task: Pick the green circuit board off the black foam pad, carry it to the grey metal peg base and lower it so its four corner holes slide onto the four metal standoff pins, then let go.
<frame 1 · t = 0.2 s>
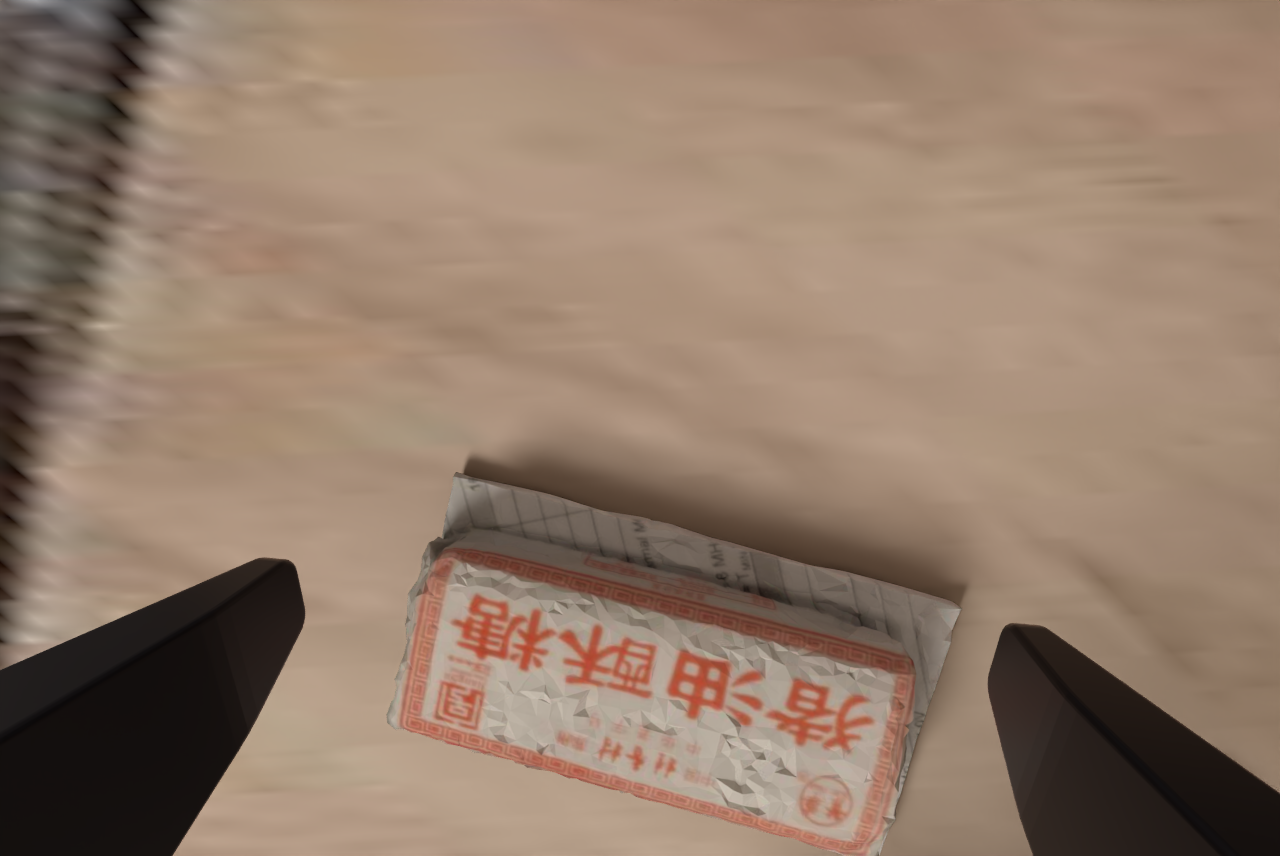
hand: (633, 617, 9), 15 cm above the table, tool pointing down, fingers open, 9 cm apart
packaged product: (671, 649, 26), on the table
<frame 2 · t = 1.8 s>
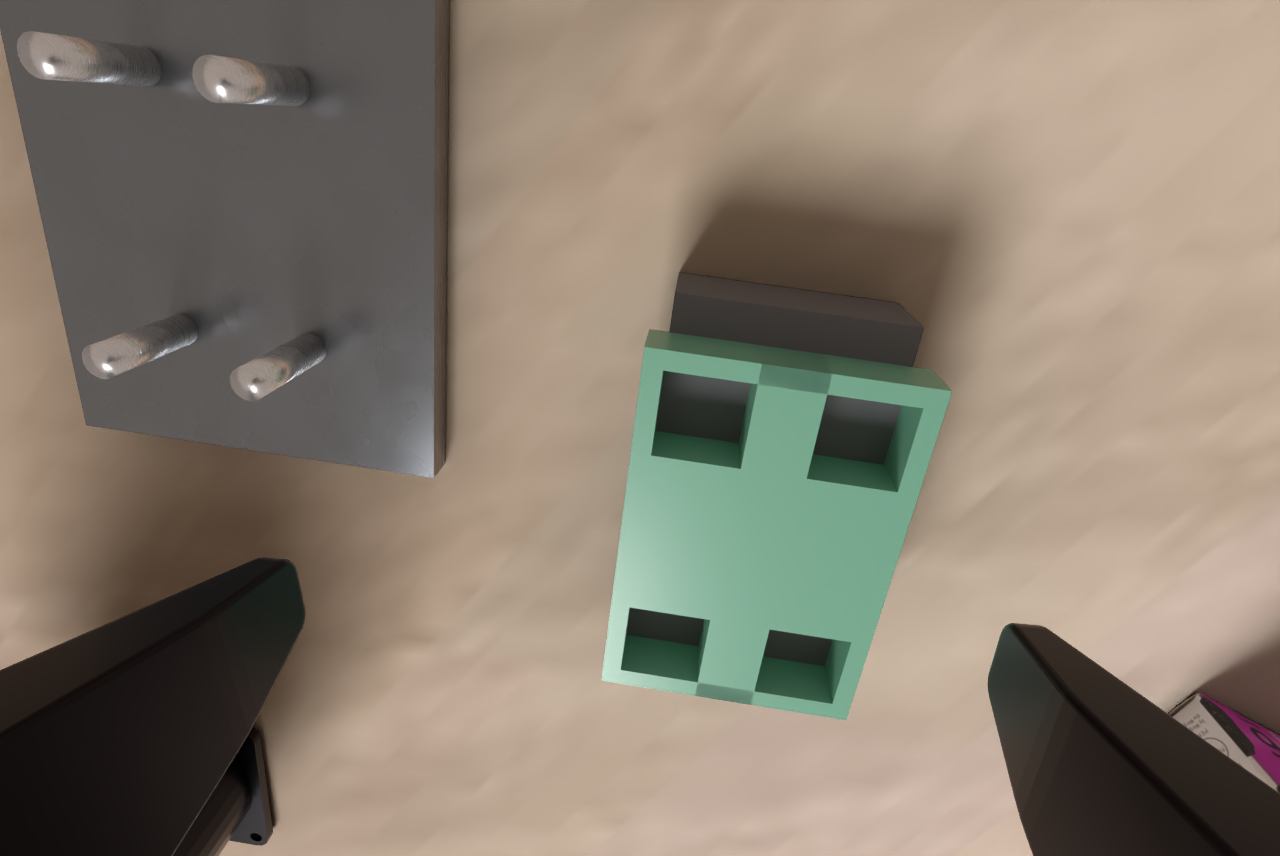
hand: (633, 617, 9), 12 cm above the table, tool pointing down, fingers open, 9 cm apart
grey metal peg base: (254, 212, 20), on the table
candy bar box: (1265, 786, 25), on the table
foam pad: (748, 480, 22), on the table
board: (752, 522, 19), point 2 cm above the table, touching foam pad
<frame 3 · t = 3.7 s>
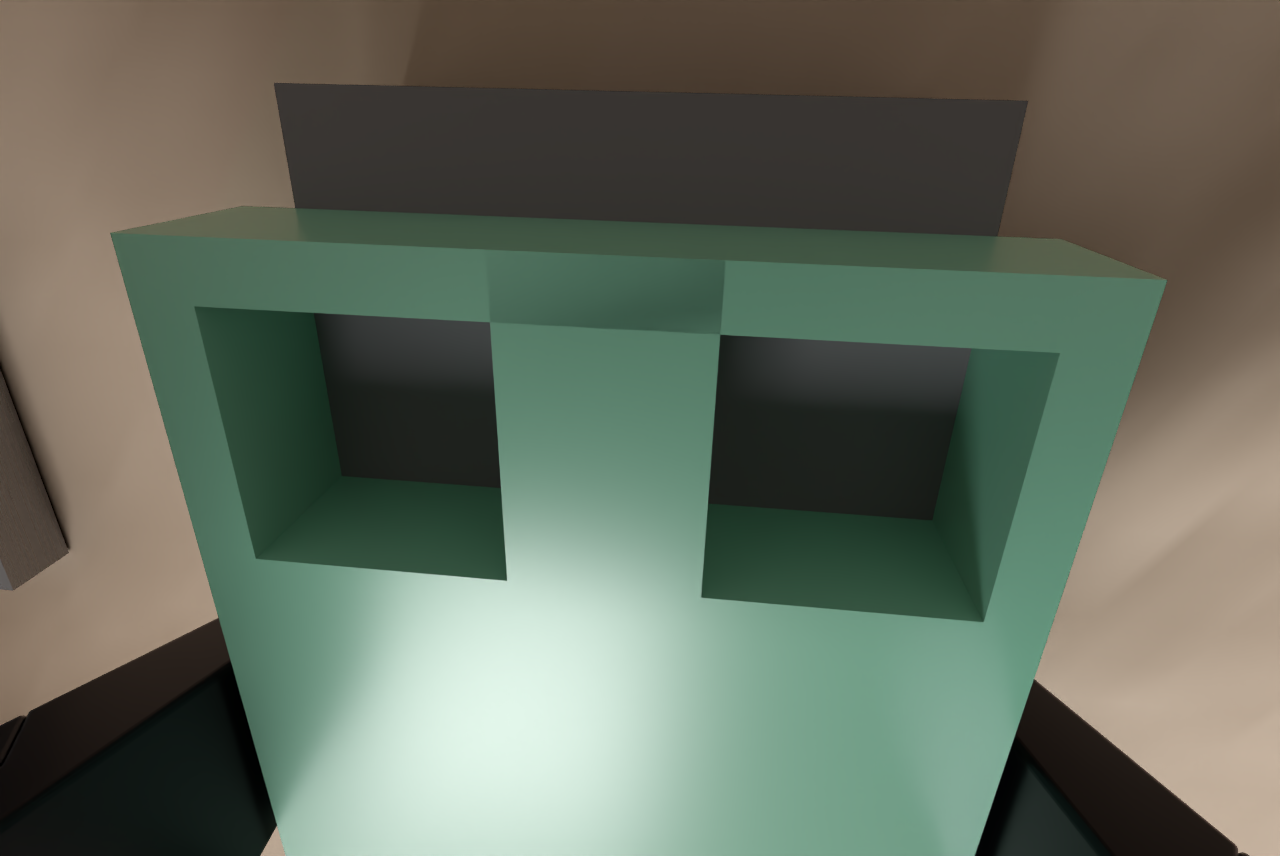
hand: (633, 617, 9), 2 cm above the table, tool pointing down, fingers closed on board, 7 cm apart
foam pad: (645, 548, 10), on the table
board: (623, 671, 8), point 2 cm above the table, touching foam pad, gripper
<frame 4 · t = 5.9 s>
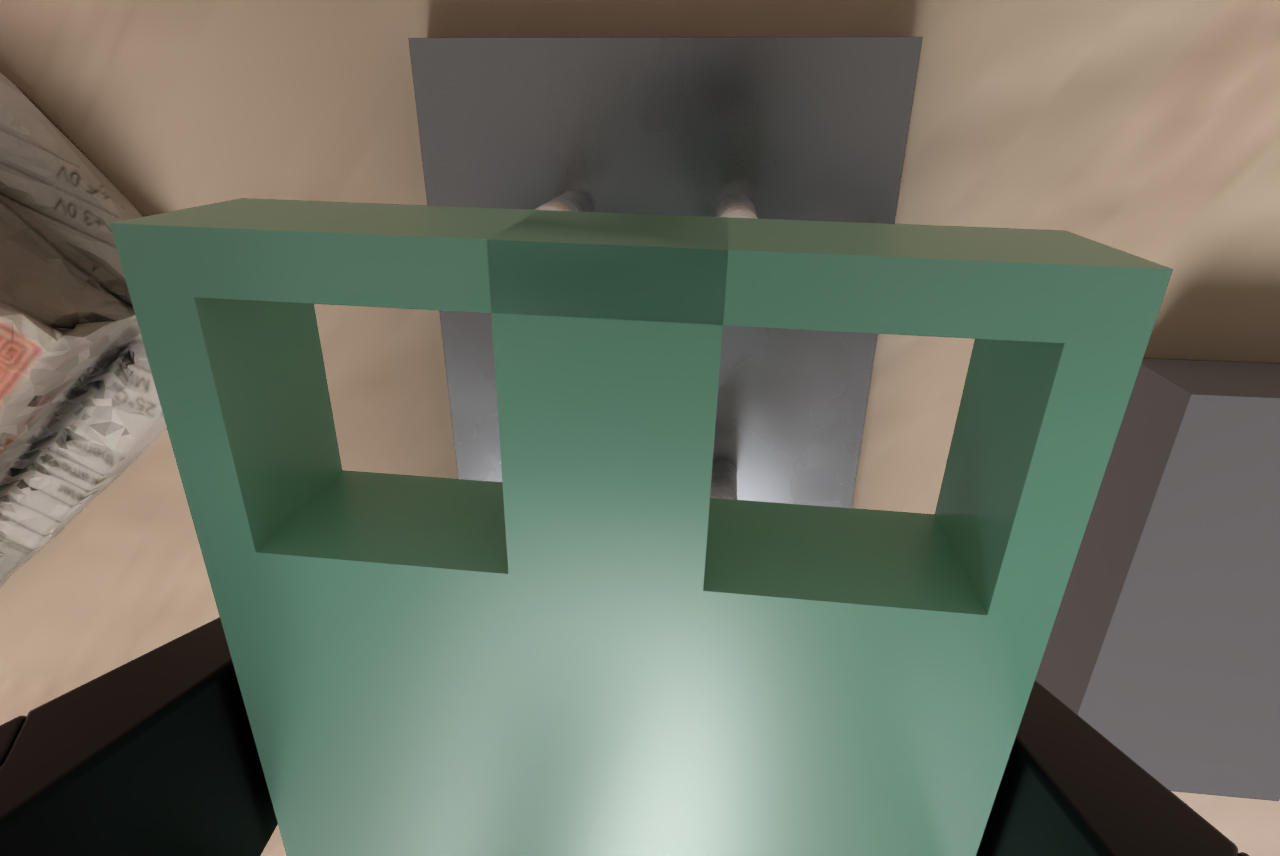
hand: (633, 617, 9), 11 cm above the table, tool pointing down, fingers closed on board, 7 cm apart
grey metal peg base: (655, 339, 19), on the table
foam pad: (1181, 564, 20), on the table
board: (624, 667, 8), point 12 cm above the table, touching gripper
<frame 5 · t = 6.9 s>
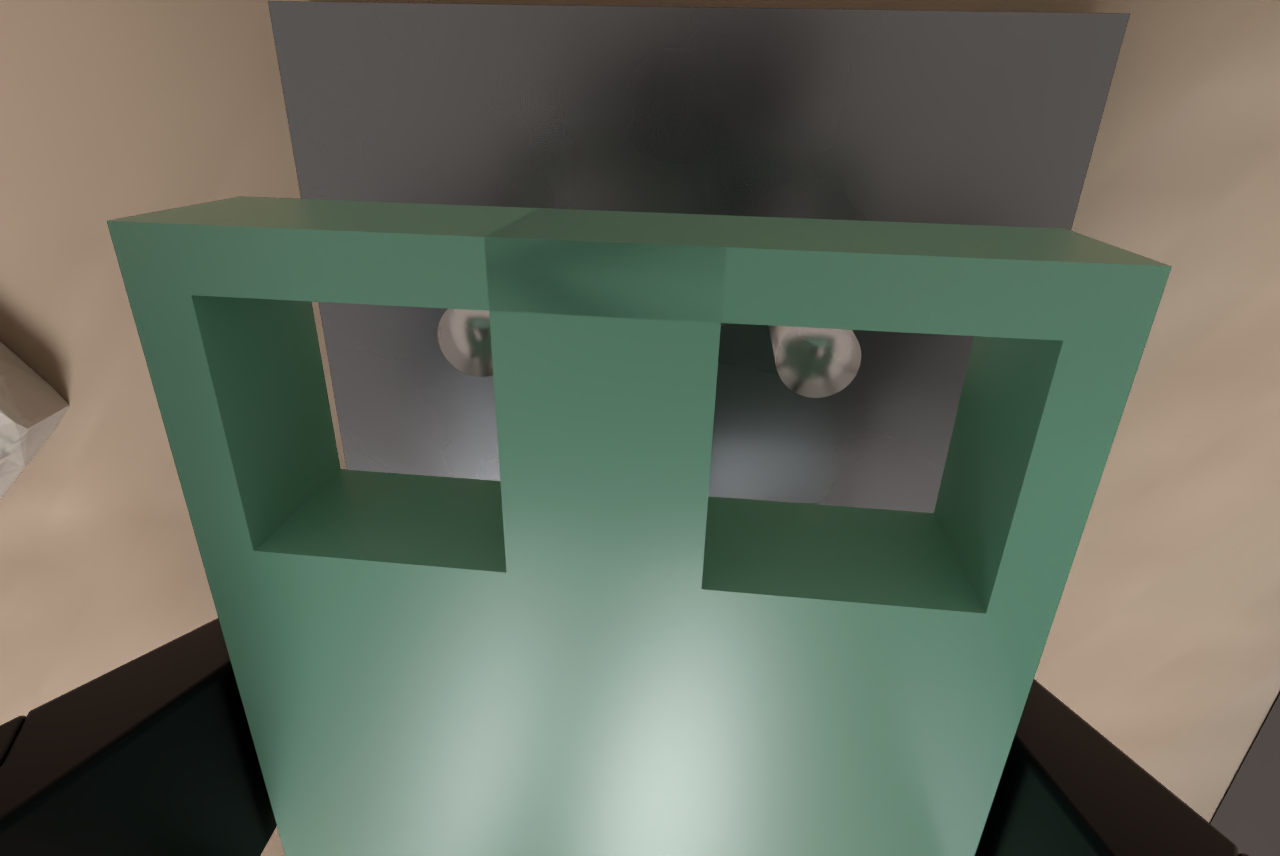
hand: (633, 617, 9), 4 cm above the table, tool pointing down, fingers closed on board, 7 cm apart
grey metal peg base: (661, 459, 13), on the table
board: (622, 666, 8), point 5 cm above the table, touching gripper
when the fingers open (1 cm above the table, at t = 8.0 s): board drops 1 cm, resting on grey metal peg base.
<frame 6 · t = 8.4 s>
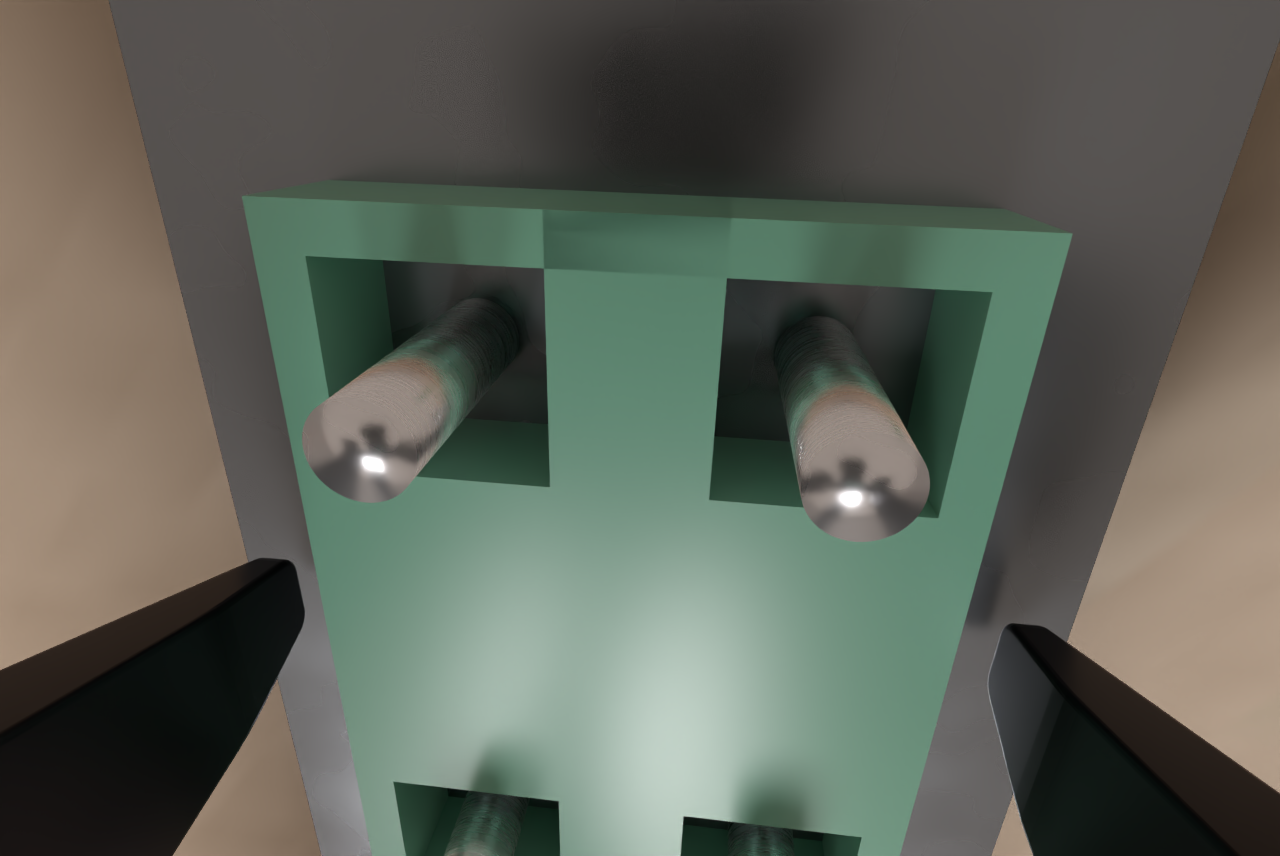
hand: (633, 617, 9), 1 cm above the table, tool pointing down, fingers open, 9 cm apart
grey metal peg base: (645, 548, 10), on the table
board: (638, 588, 9), point 1 cm above the table, touching grey metal peg base
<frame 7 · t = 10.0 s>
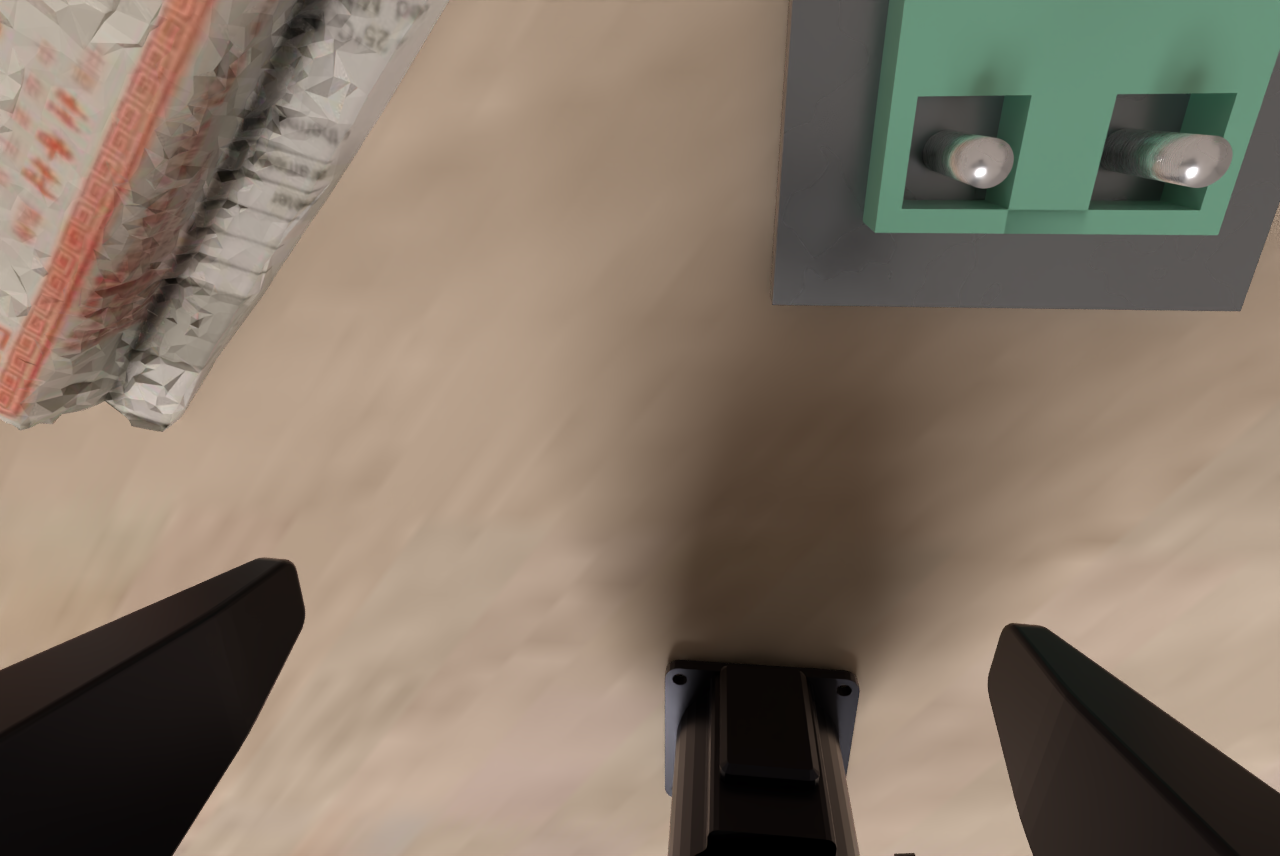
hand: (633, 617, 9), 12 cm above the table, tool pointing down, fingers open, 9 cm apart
packaged product: (172, 84, 19), on the table
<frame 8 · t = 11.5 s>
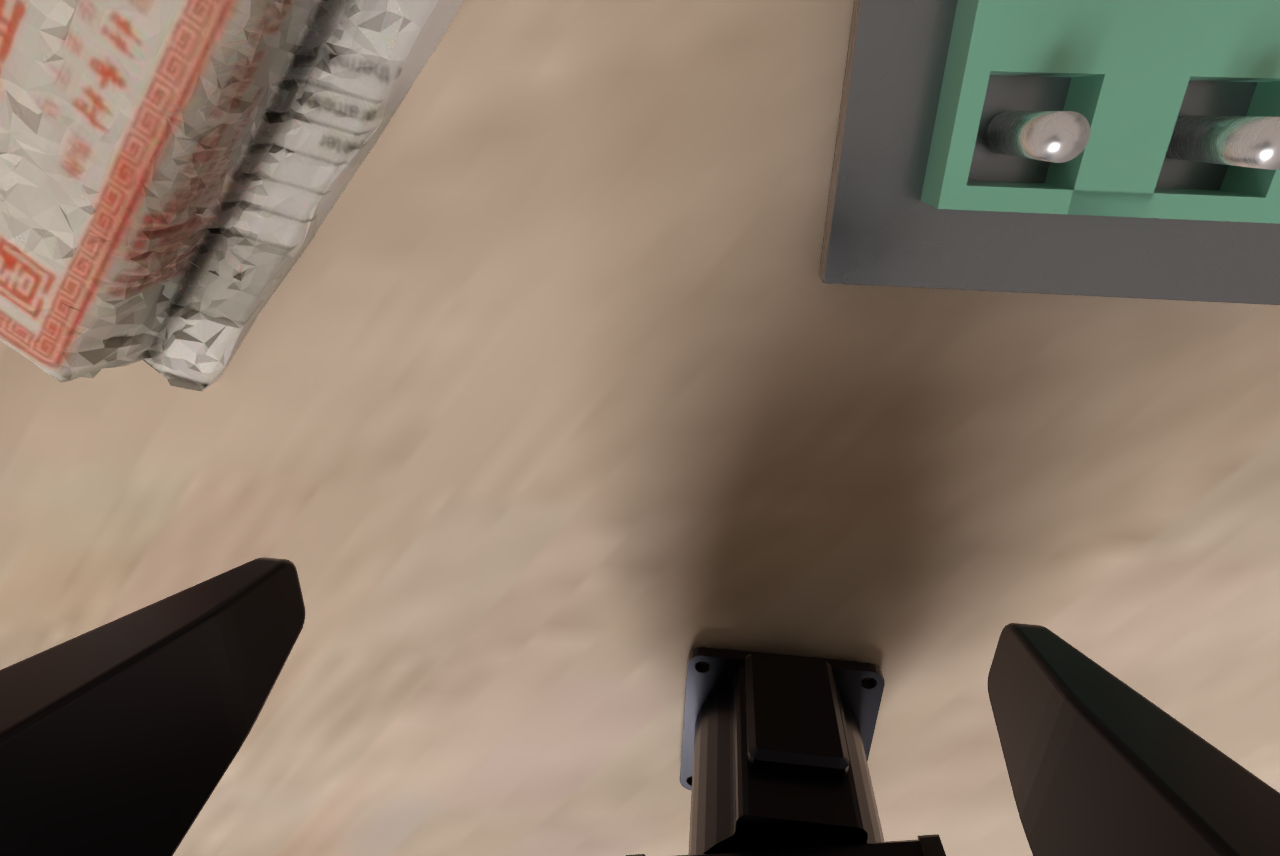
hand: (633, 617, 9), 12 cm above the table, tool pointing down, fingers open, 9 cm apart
packaged product: (218, 30, 18), on the table
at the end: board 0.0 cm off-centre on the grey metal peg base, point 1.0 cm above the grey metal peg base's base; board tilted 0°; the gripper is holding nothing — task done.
